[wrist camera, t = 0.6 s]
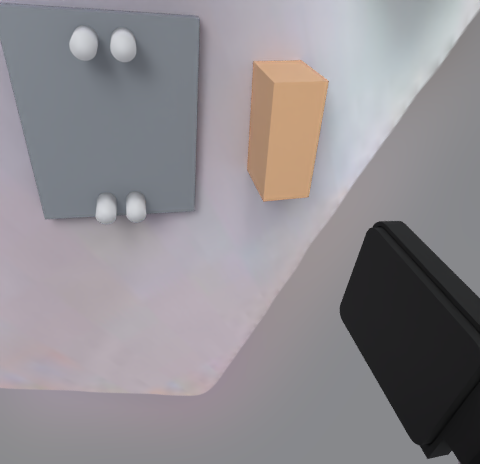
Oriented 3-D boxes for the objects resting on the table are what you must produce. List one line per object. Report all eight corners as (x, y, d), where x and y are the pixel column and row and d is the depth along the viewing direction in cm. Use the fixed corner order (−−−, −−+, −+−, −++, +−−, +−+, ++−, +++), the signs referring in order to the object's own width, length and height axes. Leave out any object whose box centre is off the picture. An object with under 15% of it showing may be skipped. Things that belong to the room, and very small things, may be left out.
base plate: (-4, 2, 31) (-19, 12, 28) (197, 15, 35) (205, 25, 32) (47, 211, 43) (40, 236, 40) (192, 204, 47) (198, 226, 44)
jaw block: (253, 60, 39) (274, 82, 33) (300, 60, 40) (328, 81, 34) (246, 169, 46) (263, 201, 41) (287, 166, 47) (308, 197, 42)
